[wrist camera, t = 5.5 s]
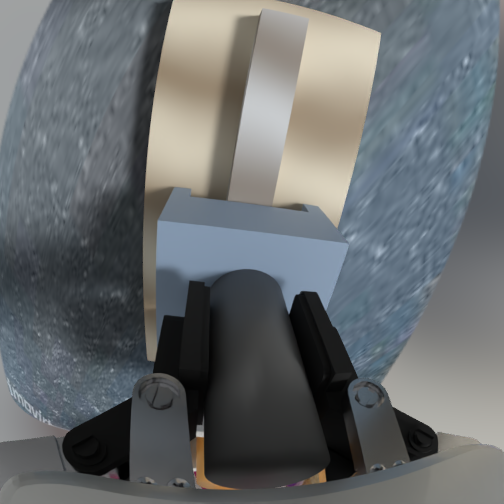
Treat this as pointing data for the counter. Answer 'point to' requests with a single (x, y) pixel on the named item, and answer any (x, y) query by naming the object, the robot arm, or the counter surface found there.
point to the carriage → (251, 329)
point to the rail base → (254, 112)
